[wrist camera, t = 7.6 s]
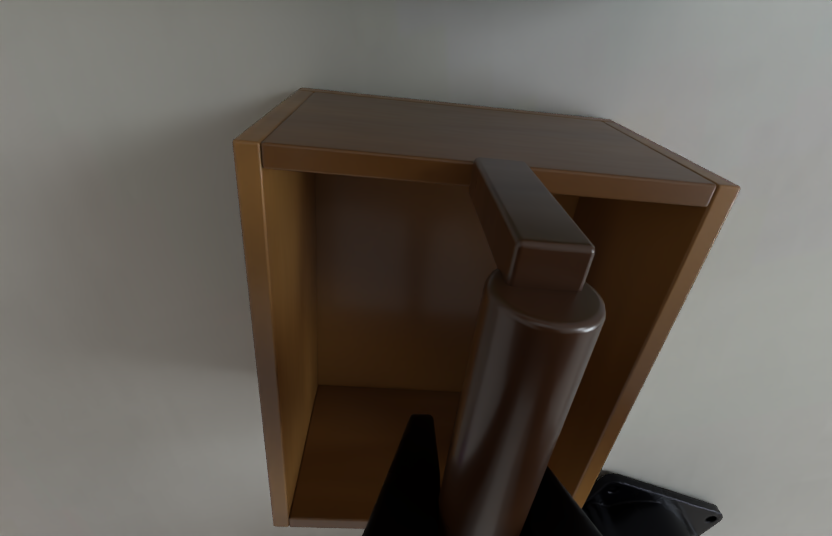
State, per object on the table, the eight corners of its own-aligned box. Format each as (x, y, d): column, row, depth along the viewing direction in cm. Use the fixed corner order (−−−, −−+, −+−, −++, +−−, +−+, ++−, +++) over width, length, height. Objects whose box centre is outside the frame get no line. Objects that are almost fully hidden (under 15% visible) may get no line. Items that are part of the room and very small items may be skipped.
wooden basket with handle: (299, 82, 11) (78, 242, 3) (611, 115, 11) (1008, 309, 4) (308, 385, 16) (228, 713, 8) (523, 396, 16) (623, 710, 9)
